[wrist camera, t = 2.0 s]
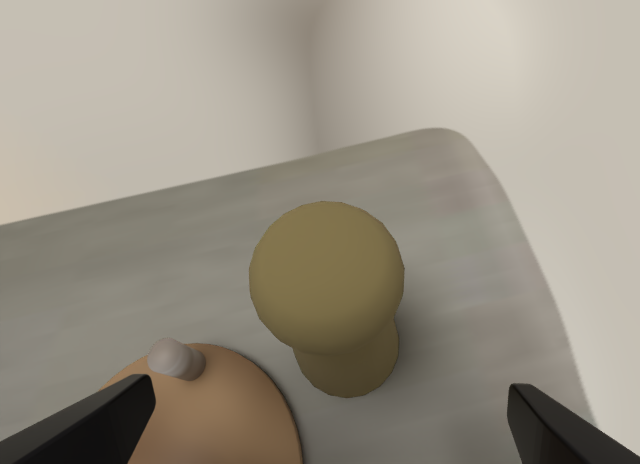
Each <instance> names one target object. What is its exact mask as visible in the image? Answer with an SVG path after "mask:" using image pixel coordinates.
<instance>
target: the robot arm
mask: <svg viewBox="0 0 640 464" xmlns="http://www.w3.org/2000/svg"><path fill="white" fill-rule="evenodd" d="M155 406H156V397H155V393H154V388H153V384H152V380H151V377H150V376H149V375H148V374H132V375H130V376H128V377H126V378H124V379H122V380H120V381H118V382H116V383H114V384H112V385H110V386H108V387H106V388H104V389H102V390H100V391H98V392H96V393H94V394H93V395H91V396H89V397H87V398H85V399H83V400H81V401H79V402H77V403H75V404H73V405H71V406H69V407H67V408H65V409H63V410H61V411H59V412H57V413H55V414H53V415H51V416H49V417H48V418H46V419H44V420H42V421H40V422H38V423H36V424H34V425H32V426H30V427H28V428H26V429H24V430H22V431H20V432H18V433H16V434H14V435H12V436H10V437H8V438H6V439H4V440H3V441H1V442H0V464H128V462H129V460H130V458H131V456H132V454H133V452H134V450H135V448H136V446H137V444H138V442H139V440H140V438H141V436H142V434H143V432H144V430H145V428H146V426H147V424H148V422H149V420H150V418H151V416H152V414H153V412H154V409H155ZM507 418H508V423H509V426H510V429H511V432H512V435H513V438H514V441H515V443H516V446H517V449H518V452H519V455H520V458H521V461H522V463H523V464H640V457H639V456H638V455H636V454H635V453H633V452H632V451H630V450H629V449H627V448H626V447H624V446H623V445H621V444H620V443H618V442H617V441H615V440H614V439H612V438H611V437H609V436H608V435H606V434H605V433H603V432H602V431H600V430H599V429H597V428H596V427H594V426H593V425H591V424H590V423H588V422H587V421H585V420H584V419H582V418H581V417H579V416H578V415H576V414H575V413H573V412H572V411H570V410H569V409H567V408H566V407H564V406H563V405H561V404H560V403H558V402H557V401H555V400H554V399H552V398H551V397H549V396H548V395H546V394H545V393H543V392H542V391H540V390H539V389H537V388H536V387H534V386H533V385H531V384H523V383H513V384H511V385H510V387H509V395H508V407H507Z"/></svg>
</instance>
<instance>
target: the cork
mask: <svg viewBox="0 0 640 464" xmlns="http://www.w3.org/2000/svg"><path fill="white" fill-rule="evenodd" d="M404 269H405V268H404V265H403V262H402V259H401V255H400V252H399V249H398V246H397V244H396V241H395V240H394V238H393V237H392V235H391V234H390V233H389V231H388V230H387V229H386V227H385V226H384V225H383V223H382V222H380V221H379V220H377V219H376V218H375V217H373V216H372V215H370V214H369V213H368V212H366V211H364V210H362V209H360V208H357V207H354V206H351V205H348V204H345V203H342V202H327V201H320V202H315V203H310V204H305V205H301V206H299V207H297V208H295V209H293V210H291V211H289V212H287V213H285V214H283V215H282V216H281V217H280V218H279V219H278V220H277V221H275V222H274V223H273V224H272V225H271V226H270V227H269V228H268V229H267V231H266V232H265V234H264V235H263V237H262V238H261V240H260V241H259V243H258V244H257V246H256V247H255V250H254V253H253V257H252V260H251V263H250V267H249V285H250V295H251V299H252V301H253V304H254V306H255V309H256V311H257V314H258V316H259V319H260V320H261V321H262V322H263V323H264V325H265V326H266V327H267V328H268V329H269V330H270V331H271V332H272V333H273V335H274V336H275V337H276V338H277V339H278V340H280V341H281V342H283V343H285V344H286V345H288V346H290V347H292V348H293V351H294V354H295V357H296V360H297V362H298V364H299V366H300V369H301V371H302V373H303V374H304V376H305V377H306V378H307V379H308V380H309V381H310V382H311V383H312V385H313V386H314V387H316V388H318V389H320V390H321V391H323V392H325V393H327V394H328V395H332V396H338V397H343V398H351V397H356V396H362V395H366V394H367V393H369V392H371V391H373V390H374V389H376V388H378V387H379V386H381V385H382V383H383V382H384V381H385V380H386V379H387V377H388V376H389V375H390V374H391V373H392V371H393V368H394V365H395V363H396V360H397V358H398V350H399V336H398V333H397V329H396V325H395V321H394V316H395V313H396V311H397V309H398V306H399V304H400V301H401V299H402V295H403V289H404Z"/></svg>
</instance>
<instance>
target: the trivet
mask: <svg viewBox="0 0 640 464" xmlns="http://www.w3.org/2000/svg"><path fill="white" fill-rule="evenodd" d="M132 374H148V375H149V376H150V377H151V380H152V384H153V388H154V393H155V397H156V406H155V409H154V412H153V414H152V416H151V418H150V420H149V422H148V424H147V426H146V428H145V430H144V432H143V434H142V436H141V438H140V440H139V442H138V444H137V446H136V448H135V450H134V452H133V454H132V456H131V458H130V460H129V462H128V464H303V459H302V449H301V444H300V439H299V435H298V430H297V427H296V424H295V421H294V418H293V415H292V412H291V410H290V408H289V406H288V404H287V402H286V400H285V398H284V396H283V395H282V393H281V392H280V390H279V389H278V387H277V386H276V384H275V383H274V382H273V381H272V380H271V379H270V377H269V376H268V375H267V374H266V373H265V372H264V371H263V370H261V369H260V368H259V367H258V366H257V365H255V364H254V363H253V362H251V361H249V360H248V359H246V358H244V357H243V356H241V355H239V354H238V353H236V352H233V351H231V350H228V349H226V348H223V347H219V346H215V345H210V344H198V343H195V344H182V343H180V342H178V341H176V340H174V339H172V338H163V339H161V340H159V341H157V342H156V343H155V344H154V345H153V346H152V347H151V349H150V351H149V353H148V355H147V356H144V357H142V358H140V359H139V360H137V361H135V362H134V363H132V364H130V365H129V366H127V367H126V368H124V369H123V370H122V371H120V372H119V373H118V374H116V375H115V376H114V377H113V378H111V379H110V380H109V381H108V382H107V383H106V384H105V385H104V386H103V387H102V388H101V389H100V390H102V389H104V388H106V387H108V386H110V385H112V384H114V383H116V382H118V381H120V380H122V379H124V378H126V377H128V376H130V375H132ZM100 390H99V391H100Z"/></svg>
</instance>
